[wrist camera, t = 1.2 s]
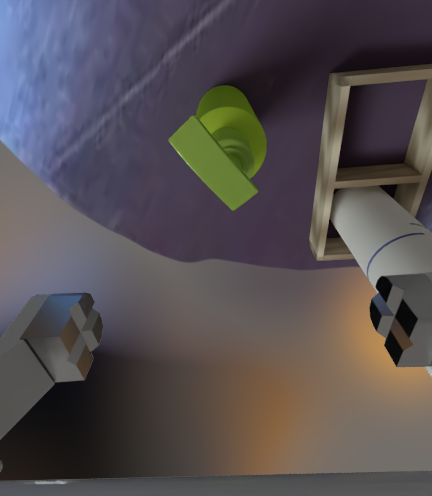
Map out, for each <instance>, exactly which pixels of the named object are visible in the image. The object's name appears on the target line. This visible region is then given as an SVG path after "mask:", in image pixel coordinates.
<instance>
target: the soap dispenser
mask: <svg viewBox="0 0 432 496" xmlns="http://www.w3.org/2000/svg"><path fill="white" fill-rule="evenodd" d="M169 142H170V143H171V145H172V146H173V147H174V148H175V150H176V151H177V152H178V153H179V154H180V156H181V157H182V158H183V159H184V160H185V162H186V163H187V164H188V165H189V166H190V167H191V168H192V170H193V171H194V172H195V173H196V174H197V175H198V176H199V177H200V178H201V179H202V180H203V181H204V183H205V184H206V185H207V186H208V187H209V188H210V189H211V190H212V191H213V192H214V193H215V194H216V195H217V196H218V197H219V198H220V199H221V200H222V201H223V202H224V203H225V204H226V205H227V206H228V207H229V208H230V209H231V210H232V211H234V210H236V209H237V208H238V207H240V206H241V205H242V204H243V203H245V202H246V201H247V200H249V199H250V198H251V197H253V196H254V195H255V194H257V193H258V188H257V187H256V186H255V184H254V183H253V182H252V181H251V180H250V178H251V177H252V176H254V175H255V174H256V172H257V171H258V170H259V169H260V167H261V165H262V163H263V161H264V158H265V155H266V148H267V144H266V136H265V133H264V130H263V128H262V126H261V124H260V122H259V120H258V119H257V117H256V115H255V113H254V111H253V109H252V108H251V106H250V104H249V102H248V100H247V98H246V97H245V95H244V94H243V93H242V92H241V91H240V90H238V89H237V88H235V87H232V86H228V85H221V86H217V87H214V88H212V89H210V90H209V91H208V92H207V93H206V94H205V95H204V96H203V98H202V99H201V101H200V104H199V107H198V110H197V113H196V116H194V115H193V116H191V117H190V118H189V119H188V120H187V121H186V122H185V123H184V124H183V125H182V126H181V127H180V128H179V129H178V130H177V131H176V132H175V133H174V134H173V135H172V136H171V137H170V138H169Z"/></svg>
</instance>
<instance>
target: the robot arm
mask: <svg viewBox="0 0 432 496" xmlns="http://www.w3.org/2000/svg"><path fill="white" fill-rule="evenodd" d="M375 287H376V289H377V290H378V292H379V293H378V294H377V295H375V297H373V298H372V300H371V303H370V318H371V321H372V323H373V326H374V328H375V329H376V331H377V332H378V333H379V334H381V335H382V336H384V337H385V338H386V341H385V344H384V346H385V348H386V349H387V351H388V353H389V355H390V356H391V358H392V360H393V362H394V363H395V365H396V367H431V369H432V272H428V273H419V274H402V275H387V276H381V277H380V278H379V279H378V280H377V283H376V286H375ZM93 305H94V300H93V298H92V296H91V294H89V293H62V294H41V295H35V296H33V297H31V298H30V300H29V301H28V302H27V304H26V305H25V306H24V308H23V309H22V310H21V312H20V313H19V314H18V315H17V317H16V318H15V320H14V321H13V322H12V324H11V325H10V326H9V327H8V329H7V330H6V331H5V333H4V334H3V335H2V337H1V338H0V439H1V438H2V437H3V436H4V435H5V434H6V433H7V432H8V431H9V430H10V429H11V428H12V427H13V426H14V425H15V424H16V423H17V422H18V421H19V420H20V419H21V418H22V417H23V416H24V415H25V414H26V412H28V411H29V410H30V409H31V407H33V405H35V403H36V402H37V401H38V400H39V399H40V398H41V397H42V396H43V395H44V394H45V393H46V392H47V391H48V390H49V389H50V388H51V387H52V386H53V385H54V382H64V381H78V380H85V378H86V376H87V373H88V371H89V368H90V366H91V363H92V360H93V356H92V354H91V351H92V350H93V349H95V348H96V347H97V346H98V345H99V343H100V340H101V338H102V331H103V323H102V318H101V316H100V313H98V312H97V311H96V310H94V309H93V308H92V307H93ZM2 468H3V466H2V462H1V460H0V472H1V470H2ZM0 496H432V471H400V472H361V473H360V472H357V473H317V474H276V475H233V476H192V477H152V478H110V479H70V480H31V481H30V480H29V481H0Z"/></svg>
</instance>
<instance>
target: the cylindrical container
mask: <svg viewBox="0 0 432 496" xmlns="http://www.w3.org/2000/svg"><path fill="white" fill-rule="evenodd" d="M329 218H330V220H331V222H332V223H333V225H334V227H335V228H336V230H337V231H338V233H339V234H340V236H341V237H342V239H343V240H344V242H345V244H346V245H347V247H348V248H349V250H350V251H351V253H352V254H353V256H354V258H355V259H356V261H357V262H358V264H359V265H360V267H361V268H362V270H363V271H364V273H365V275H366V276H367V278H368V279H369V281H370V282H371V284H372V286H373V287H374V288H375V290H376V292H377V293H379V292H378V290H377V289H376V287H375V286H376V283H377V280H378V279H379V278H380V277H381V276H387V275H402V274H419V273H428V272H432V233H431V232H430V231H429V230H428V229H427V228H426V227H424V226H423V225H422V224H421V223H420V222H419V221H418V220H417V219H415V218H414V217H413V216H412V215H411V214H410V213H409V212H407V211H406V210H405V209H404V208H403V207H402V206H401V205H400V204H398V203H397V202H396V201H395V200H394V199H393V198H392V197H390V196H389V195H388V194H387V193H386V192H385V191H384V190H382V189H381V188H380V187H379V186H378V185H376V186H362V187H349V188H341V189H340V190H338V191H337V192H336V193H335V195H334V196H333V198H332V205H331V211H330V217H329ZM425 368H426V369H427V371H428V372H429V374H430V375H431V377H432V369H431V367H425Z"/></svg>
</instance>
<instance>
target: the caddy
mask: <svg viewBox="0 0 432 496" xmlns="http://www.w3.org/2000/svg"><path fill="white" fill-rule="evenodd" d="M421 79H428V80H427V84H426V87H425V91H424V94H423V98H422V101H421V105H420V108H419V112H418V115H417V119H416V122H415V126H414V129H413V132H412V136H411V139H410V143H409V146H408V150H407V153H406V157H405V160H404V163H401V164H388V165H375V166H362V167H349V168H337V167H338V161H339V154H340V148H341V142H342V135H343V129H344V123H345V116H346V110H347V104H348V98H349V91H350V86H354V85H365V84H376V83H387V82H399V81H410V80H421ZM431 171H432V64H425V65H414V66H403V67H392V68H382V69H371V70H360V71H349V72H338V73H329V81H328V89H327V98H326V106H325V114H324V123H323V131H322V139H321V148H320V156H319V164H318V173H317V181H316V189H315V198H314V206H313V214H312V223H311V231H310V239H309V245H310V248H311V250H312V252H313V254H314V256H315V259H316V261H323V260H339V259H355V258H354V256H353V254H352V253H351V251H350V250H349V248H348V247H347V245H346V244H345V242H344V240H343V239H342V237H341V238H326V236H327V230H328V224H329V217H330V211H331V205H332V198H333V192H334V189H335V188H349V187H362V186H376V185H389V184H398V185H397V188H396V191H395V195H394V198H393V199H394V200H395V201H396V202H397V203H398V204H400V205H401V206H402V207H403V208H404V209H405V210H406V211H407V212H409V213H410V214H411V215H412V216H413V217H414V218H415V216H416V214H417V211H418V208H419V205H420V202H421V199H422V196H423V193H424V191H425V188H426V185H427V182H428V179H429V176H430V173H431Z"/></svg>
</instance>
